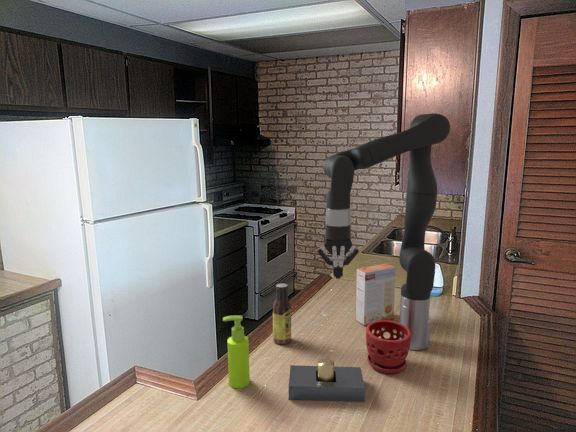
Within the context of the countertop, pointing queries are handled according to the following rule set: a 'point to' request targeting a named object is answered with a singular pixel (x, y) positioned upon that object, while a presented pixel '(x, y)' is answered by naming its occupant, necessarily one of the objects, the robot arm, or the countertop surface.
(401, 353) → the plant pot
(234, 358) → the soap dispenser
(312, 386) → the jig
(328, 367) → the gold cylinder
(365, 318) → the cracker box
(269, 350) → the countertop surface
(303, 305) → the countertop surface
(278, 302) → the sauce bottle
